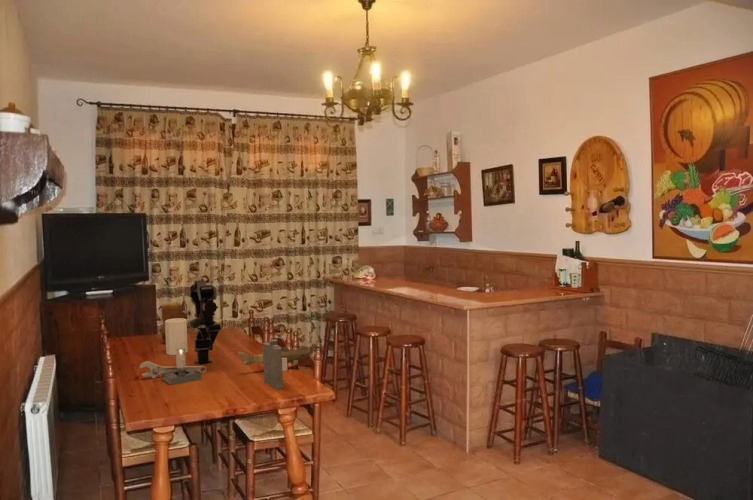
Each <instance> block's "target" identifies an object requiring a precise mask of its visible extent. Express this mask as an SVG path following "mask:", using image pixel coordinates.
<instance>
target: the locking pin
mask: <svg viewBox="0 0 753 500" xmlns="http://www.w3.org/2000/svg"><path fill="white" fill-rule="evenodd" d="M175 361H176V363H175V364H176V366H177V375H183V374H186V366H187V365H186V353H185V349H184V348H180V349H176V355H175Z"/></svg>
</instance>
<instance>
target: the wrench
mask: <svg viewBox="0 0 753 500" xmlns="http://www.w3.org/2000/svg"><path fill="white" fill-rule="evenodd" d="M145 367H147V368H148V371H146V372H144V373H141V375H142V377H144V378H149V379H150V378H151V379H153V380H154V379H157V376H159V375H162V373H166V372H172V371H177V366H163V365H159V364H156V363H154V362H151V361H147V360H146V361H144V362H142V363H141V364H140V365H139V369H142V368H145ZM189 368H193V369H195V370H197V371H198V372H200V373H201V374H202V373H206V372H207V367H206V366H204V365H186V369H189ZM203 368H204V370H203V371H202V370H201V369H203Z"/></svg>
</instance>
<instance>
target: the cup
mask: <svg viewBox="0 0 753 500" xmlns="http://www.w3.org/2000/svg"><path fill="white" fill-rule="evenodd" d="M187 329H188V328H187V319H186V318H184V317H183V318H175V319H168V320H166V321H165V334H166V341H165V349H166V351H165V353H166V355H168V356H176V349H180V348H184V349H185V354H187V353H188V331H187Z"/></svg>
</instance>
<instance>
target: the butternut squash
mask: <svg viewBox="0 0 753 500" xmlns="http://www.w3.org/2000/svg"><path fill="white" fill-rule="evenodd" d="M183 316H184V313H183V307H182V304H181V303H180V302H179V301H165V302H163V304H162V305H161V320H162V322H163V325H162V327H161V337H162V340H163V341H165V342H166V334H165V321H166V320H168V319H175V318H183V319H184V317H183Z"/></svg>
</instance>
